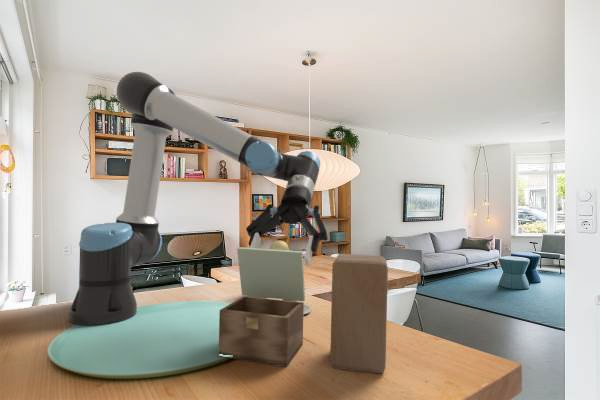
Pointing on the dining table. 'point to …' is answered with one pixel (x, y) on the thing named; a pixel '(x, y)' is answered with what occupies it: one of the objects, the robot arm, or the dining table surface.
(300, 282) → the lid
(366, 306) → the block
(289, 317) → the box
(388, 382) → the dining table surface
